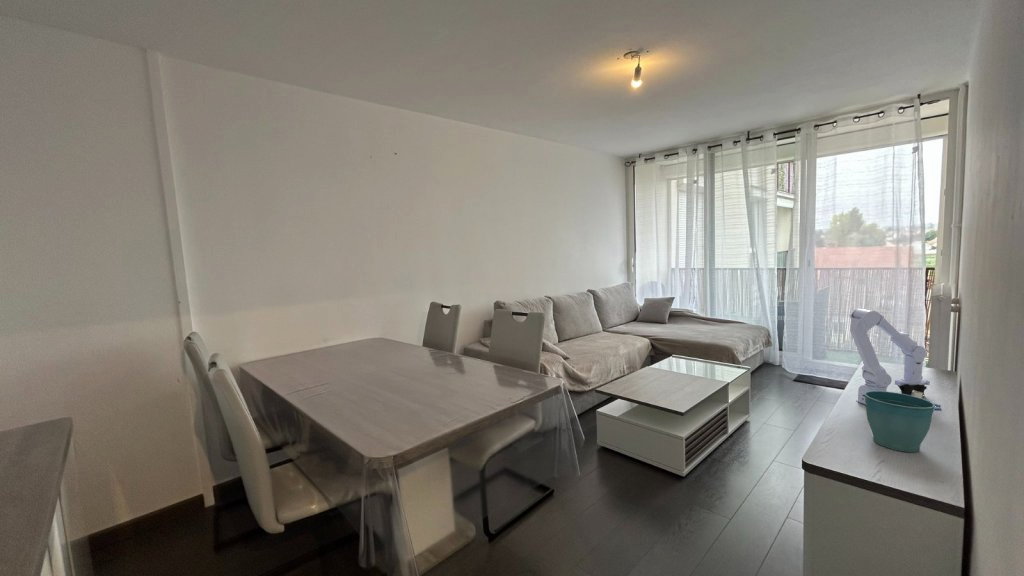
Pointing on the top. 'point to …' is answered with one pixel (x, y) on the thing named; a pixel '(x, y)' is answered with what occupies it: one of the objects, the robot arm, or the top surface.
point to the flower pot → (898, 419)
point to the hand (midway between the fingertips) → (911, 400)
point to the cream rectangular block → (916, 394)
